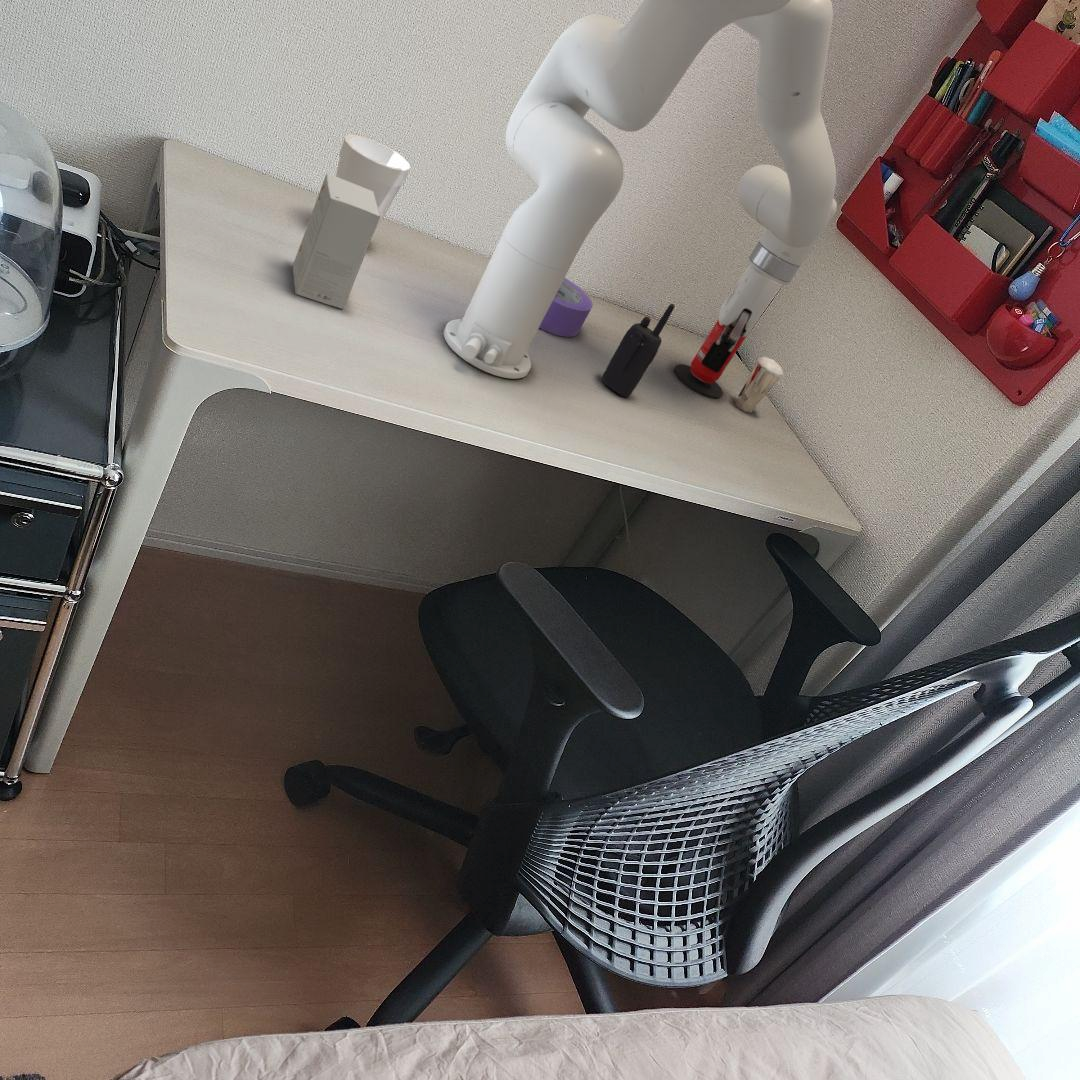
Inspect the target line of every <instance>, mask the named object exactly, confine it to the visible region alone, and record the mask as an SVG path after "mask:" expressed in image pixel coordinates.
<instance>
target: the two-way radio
mask: <svg viewBox="0 0 1080 1080" xmlns="http://www.w3.org/2000/svg"><path fill="white" fill-rule="evenodd" d="M675 307H676V305H675V304H674V303H669V305H668V306H667V308H666V309H665V311H664V312H663V314H662V316H661V317H660V319H659V321H658V322H657V324H656V325H655V327H654V328H653V330H652V329H651V328H649V325H650V323H651V318H650V317H649V316H644V317H643V318H642V320H641V321H640V322H638V323H633V324H632V325H631V326H630V327H629V328H628V330H626V332H625V334H624V336H623V337H622V339H621V341H620V342H619V344H618V346H617V348H616V350H615V351H614V354H612V357H611V359H609V360H610V361H609V362H608V365H607V366H606V369H605V370H604V372H603V373H602V377H601V380H602V381H603V383H604V384H605V385H606V386H607V387H609V388H610V389H611V390H612V391H614V392H615V393H617V394H618V395H619V396H621V397H630V396H631V395H632V394H633V392H634V390H635V389H636V387H637V386H638V385H639V383H640V381H641V380H642V378H643V377H644V375H645V374H646V372H647V370H648V368H649V366H650V365H651V364H652V363H653V361H654V359H655V357H656V355H657V353H658V352H659V349H660V346H661V344H662V338H661V336H660V334H661V333H662V331H663V329H664V327H665V326H666V324H667V322H668V320H669V319H670V316H671V315H672V313H673V311H674V309H675Z"/></svg>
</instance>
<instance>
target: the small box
mask: <svg viewBox="0 0 1080 1080" xmlns="http://www.w3.org/2000/svg"><path fill="white" fill-rule="evenodd" d="M317 195H318V196H317V197H316V201H315V204H314V206H313V209H312V212H311V214H310V217H309V220H308V222H307V226H306V228H305V231H304V234H303V236H302V239H301V242H300V243H299V244H300V245H299V247H298V250H297V254H296V255H295V258H294V261H293V263H292V273H293V284H294V292H295V295H298V296H301V297H304V298H307V299H310V300H312V301H316V302H319V303H322V304H325V305H329V306H332V307H335V308H338V309H342V310H344V309H345V306H346V304H347V301H348V299H349V297H350V294H351V291H352V289H353V286H354V283H355V281H356V278H357V276H358V273H359V271H360V269H361V266H362V263H363V261H364V258H365V256H366V254H367V251H368V249H369V246H370V244H371V242H372V238H373V237H374V235H373V233H374V231H375V228H376V226H377V223H378V221H379V219H380V214H379V210H378V206H377V203H376V199H375V195H374V192H373V191H371V190H368V189H366V188H363V187H361V186H358V185H356V184H353V183H351V182H348V181H346V180H343V179H341V178H338V177H336V175H333V174H331V173H326V174H325V176H324V179H323V182H322V184H321V187H320V189H319V193H318V194H317ZM375 232H376V231H375ZM374 234H375V233H374Z"/></svg>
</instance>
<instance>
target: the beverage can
mask: <svg viewBox="0 0 1080 1080" xmlns="http://www.w3.org/2000/svg"><path fill="white" fill-rule="evenodd" d="M739 316H740V315H739ZM724 327H725V325H724V324H723V325H722V326H721V325H720V324H719V318H717V321H716V322H715V324H714V325H713V327H712V329H711V330H710V332H709V333H708V335H707V337H706V338H705V340H704V341H703V343H702V345H701V346H700V348H699V349H698V351H697V352H696V354H695V356H694V357H693V359H692V361H691V364H690V366H691V368H690V372H691V373H692V374H693V375H694V376H695V377H696V378H698V379H699V380H701V381H703V382H705V383H708V384H713V382H716V381H718V380H719V379H720V378H721V376H722V374H723V373H724V371H725V370H726V368H727V367H728V366H729V364H730V362H731V361H732V359H733V357H734V356H735V355H736V353H737V351H738V350H739V349H740V346H741V345H742V344H743V342H744V341H745V339H746V338H747V336H746V337H740V338H739V340H738V341H737V343H736V345H735V347H734V348H733V350H732V353H731V354H730V356H729V357H728V359H727V360H726V362H725V364H724V365H723V367H722V368H721V370H720V371H719V372H718V373H716V372H714V371H713V370H711V369H709V368H707V367H706V366H704V365H702V360H703V359H704V357H705V355H706V354H707V352H708V351H709V349H710V347H711V346H712V344H713V343H714V342H716V341H717V340H718V338H719V336H720V335H721V333H722V331H723V329H724ZM733 327H734V326H733V325H731V324H730V325H729V328H730V329H733ZM744 331H746V330H745V329H744ZM727 334H728V335H729V334H730V333H729V332H727V333H726V334H725V336H726V335H727Z"/></svg>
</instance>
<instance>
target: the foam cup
mask: <svg viewBox="0 0 1080 1080" xmlns="http://www.w3.org/2000/svg"><path fill="white" fill-rule="evenodd" d="M338 156H339V158H338V159H339V160H338V164H337V169H336V173H335V176H336V177H338V178H341V179H343V180H346V181H348V182H351V183H353V184H356V185H358V186H361V187H363V188H366V189H368V190H371V191H373V192H374V195H375V199H376V203H377V206H378V210H379V214H380V219H379V221H378V223H377V226H376V228H375V231H374V233H373V236H374V234H375V233H376V231H377V230H378V228H379V226H380V224H381V222H382V221H383V219H384V217H385V215H386V213H387V211H388V210H389V208H390V206H391V204H392V203H393V201H394V200H395V197H396V196H397V194H398V192H399V191H400V189H401V187H402V186H403V185H405V182H406V180H407V177H408V175H409V172H410V170H411V166H410V163H409V162H408V160H406V158H405V157H404V156H403V155H401V154H400V153H398V152H397V151H395V150H394V149H392V148H391V147H389V146H387V145H385V144H383V143H381V142H379V141H377V140H374V139H372V138H369V137H367V136H364V135H357V134H353V133H352V134H348V135H345V136H344V139H343V142H342V145H341V147H340V150H339V155H338Z"/></svg>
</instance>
